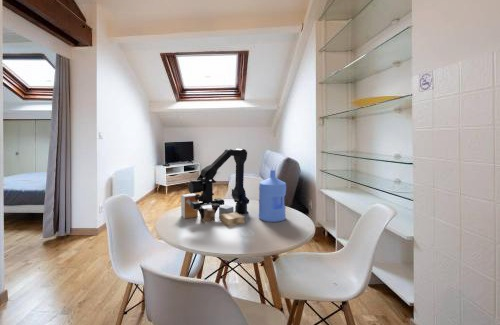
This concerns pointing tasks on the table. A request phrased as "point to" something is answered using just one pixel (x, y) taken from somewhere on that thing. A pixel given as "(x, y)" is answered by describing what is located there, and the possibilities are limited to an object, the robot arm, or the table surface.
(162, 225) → the table surface
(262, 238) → the table surface
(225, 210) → the slate cube
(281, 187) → the water jug
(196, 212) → the small box
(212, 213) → the walnut cube
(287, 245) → the table surface
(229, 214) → the oak slab
